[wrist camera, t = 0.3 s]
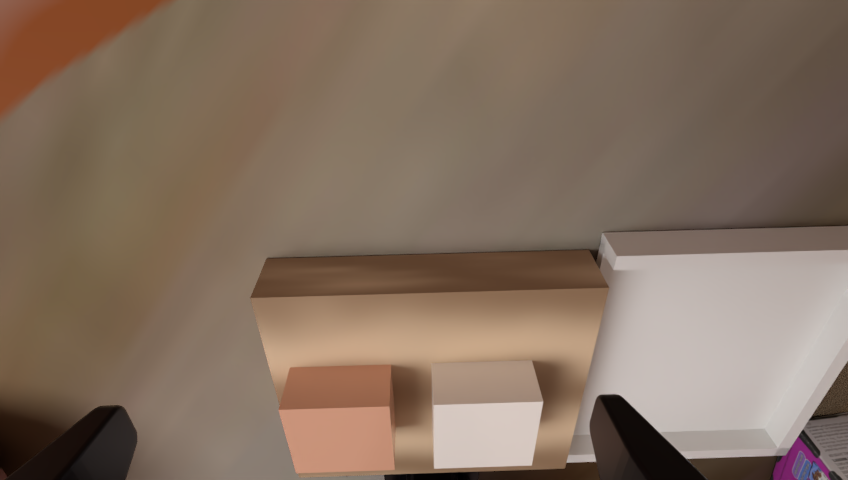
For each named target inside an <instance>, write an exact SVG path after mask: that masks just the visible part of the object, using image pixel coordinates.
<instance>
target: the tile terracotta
mask: <svg viewBox="0 0 848 480" xmlns="http://www.w3.org/2000/svg"><path fill="white" fill-rule="evenodd" d="M279 413H280V417H281V420H282V424H283V427H284V431H285V435H286V438H287V442H288V445H289V449H290V453H291V456H292V460H293V463H294V467H295V471H296V473H322V472H352V471H382V470H395V440H396V423H395V410H394V397H393V384H392V370H391V364H389V365H356V366H323V367H290V369H289V372H288V376H287V380H286V384H285V388H284V392H283V395H282V399H281V403H280V407H279Z"/></svg>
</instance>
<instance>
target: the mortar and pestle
mask: <svg viewBox="0 0 848 480" xmlns="http://www.w3.org/2000/svg"><path fill="white" fill-rule="evenodd" d="M6 478H7V476H6V474H5V472H4V471H3V470H2V468H1V467H0V480H5V479H6Z"/></svg>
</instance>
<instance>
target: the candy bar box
mask: <svg viewBox="0 0 848 480" xmlns="http://www.w3.org/2000/svg"><path fill="white" fill-rule="evenodd" d="M771 480H848V412H845V413H838V414H833V415H826V416H821V417H815V418H810V419H809V421H808V422H807V424H806V425H805V427H804V428H803V430H802V431H801V433H800V434H799V436H798V437H797V439H796V440H795V442H794V443H793V445H792V447H791V448H790V450H789V451H788V453H787V454H786V455H784V456H778V458H777V461H776V464H775V467H774V470H773V474H772V477H771Z"/></svg>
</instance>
